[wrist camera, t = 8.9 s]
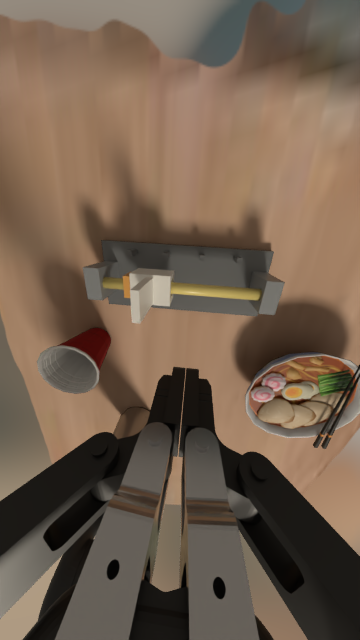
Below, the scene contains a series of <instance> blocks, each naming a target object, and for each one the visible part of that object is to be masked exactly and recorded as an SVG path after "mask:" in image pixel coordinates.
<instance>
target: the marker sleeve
mask: <svg viewBox="0 0 360 640" xmlns="http://www.w3.org/2000/svg"><path fill="white" fill-rule="evenodd" d="M129 277H130V299H131V315H132V323H141V322H142V320H143V319H144V317H145V315H146V314H147V312H148V311H149V309H150V308H151V306H152V305H157V306H169V307H170V304H171V302H172V299H173V294H171V282H174V271H173V270H159V269H146V268H138V269H136V270H134V271H132V272H131V273H129Z"/></svg>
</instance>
